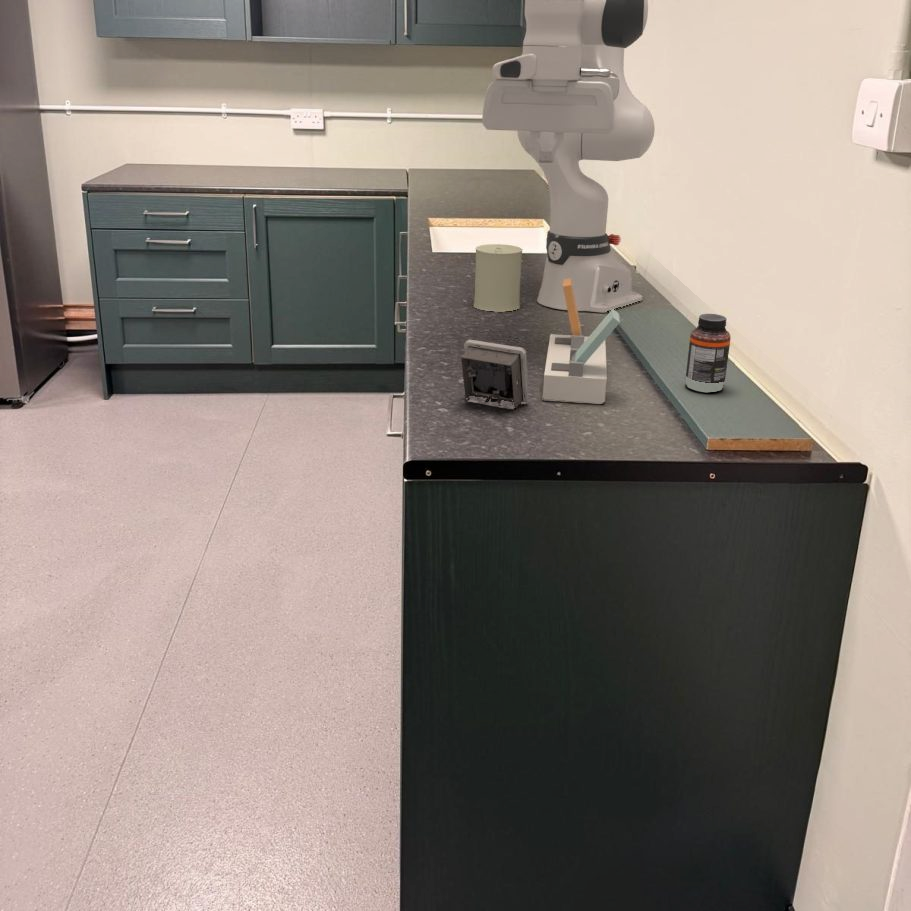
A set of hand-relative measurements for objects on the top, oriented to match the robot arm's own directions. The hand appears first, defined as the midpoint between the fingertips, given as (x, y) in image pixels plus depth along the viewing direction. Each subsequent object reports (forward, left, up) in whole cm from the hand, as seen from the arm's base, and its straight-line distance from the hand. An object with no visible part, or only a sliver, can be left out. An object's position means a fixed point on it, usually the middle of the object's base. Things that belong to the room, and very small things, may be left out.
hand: (545, 162), depth 152 cm
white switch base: (+2, +12, -31) cm, 33 cm away
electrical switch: (+22, +16, -31) cm, 41 cm away
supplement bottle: (-10, +28, -31) cm, 43 cm away
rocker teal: (+9, +19, -26) cm, 34 cm away
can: (-15, -28, -31) cm, 45 cm away
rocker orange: (-1, +9, -26) cm, 28 cm away
